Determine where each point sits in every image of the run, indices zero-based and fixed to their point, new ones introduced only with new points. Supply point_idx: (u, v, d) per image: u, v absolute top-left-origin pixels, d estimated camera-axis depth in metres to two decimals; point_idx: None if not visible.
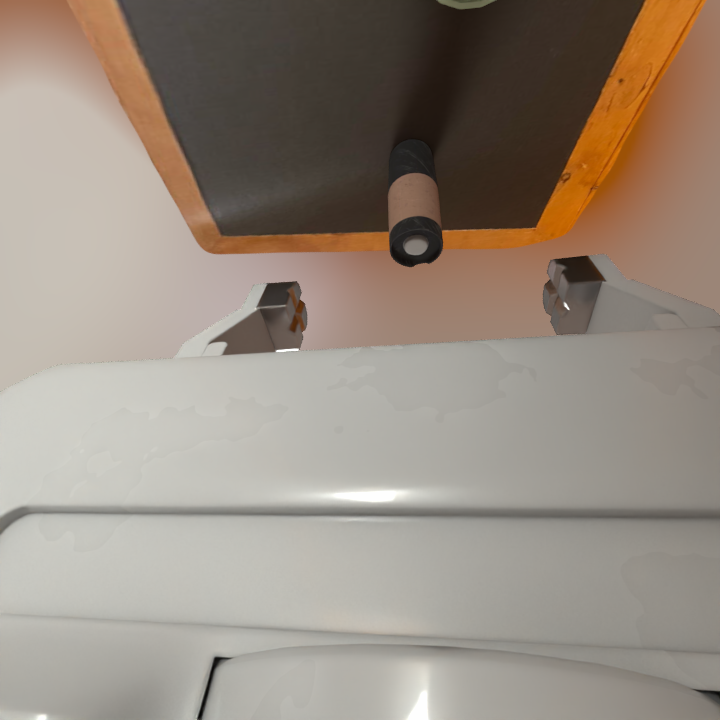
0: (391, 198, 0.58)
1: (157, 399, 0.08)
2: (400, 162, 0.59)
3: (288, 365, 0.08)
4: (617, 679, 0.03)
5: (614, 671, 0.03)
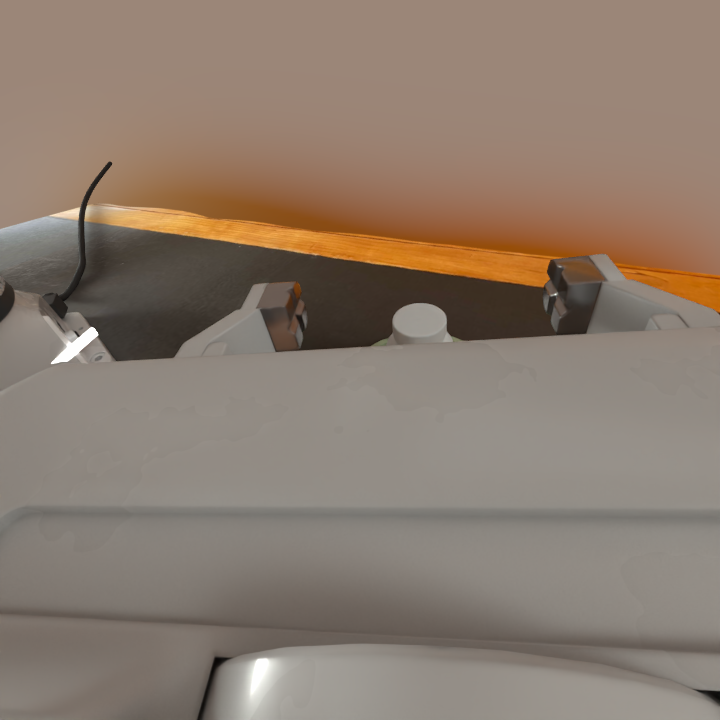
0: None
1: (157, 399, 0.08)
2: None
3: (288, 365, 0.08)
4: (617, 679, 0.03)
5: (614, 671, 0.03)
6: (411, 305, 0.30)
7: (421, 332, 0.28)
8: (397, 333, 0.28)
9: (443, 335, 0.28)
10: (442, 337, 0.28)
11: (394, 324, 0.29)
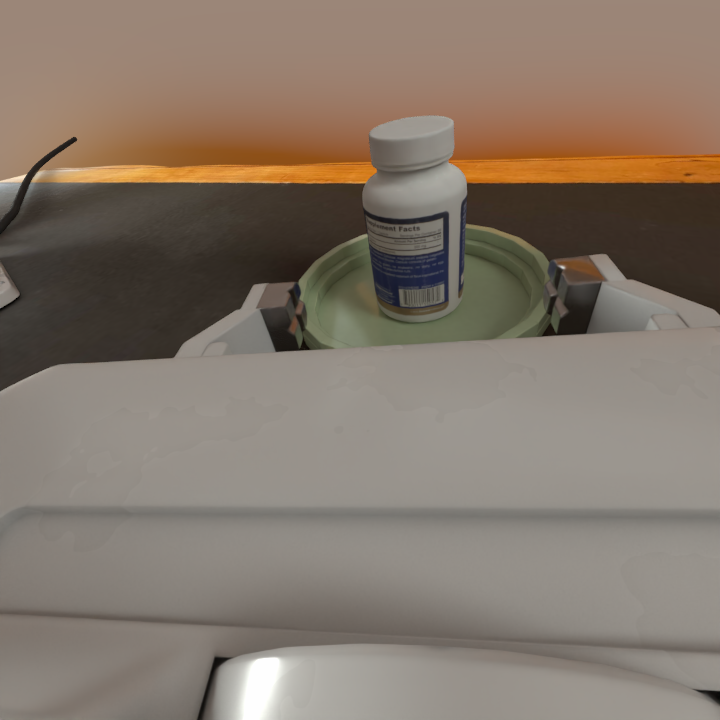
0: None
1: (157, 399, 0.08)
2: None
3: (288, 365, 0.08)
4: (617, 679, 0.03)
5: (614, 671, 0.03)
6: (398, 120, 0.20)
7: (414, 134, 0.17)
8: (376, 146, 0.18)
9: (449, 145, 0.18)
10: (448, 148, 0.18)
11: (371, 135, 0.18)
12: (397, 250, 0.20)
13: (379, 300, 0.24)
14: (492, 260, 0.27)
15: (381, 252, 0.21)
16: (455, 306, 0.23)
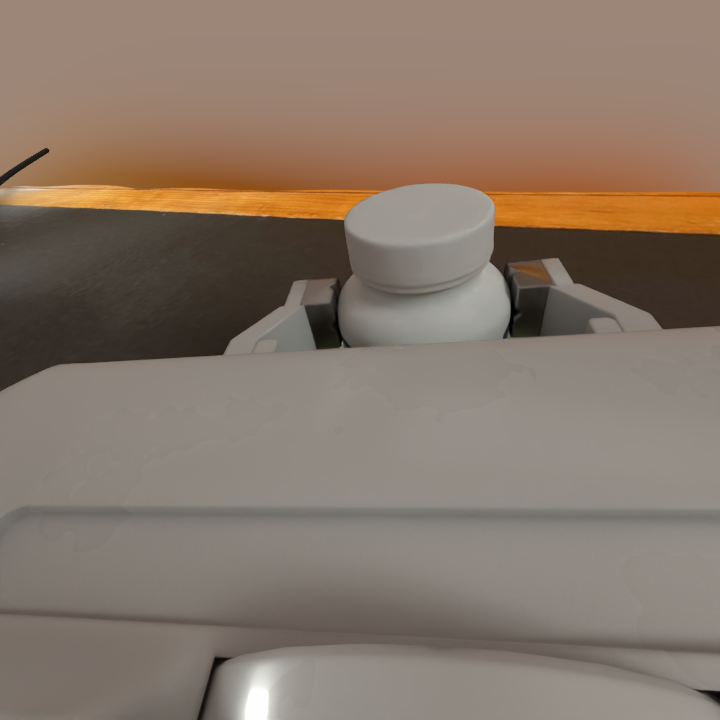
0: None
1: (157, 399, 0.08)
2: None
3: (288, 365, 0.08)
4: (617, 679, 0.03)
5: (614, 671, 0.03)
6: (396, 189, 0.12)
7: (424, 234, 0.09)
8: (356, 248, 0.10)
9: (488, 248, 0.10)
10: (485, 253, 0.10)
11: (348, 225, 0.10)
12: None
13: None
14: None
15: None
16: None
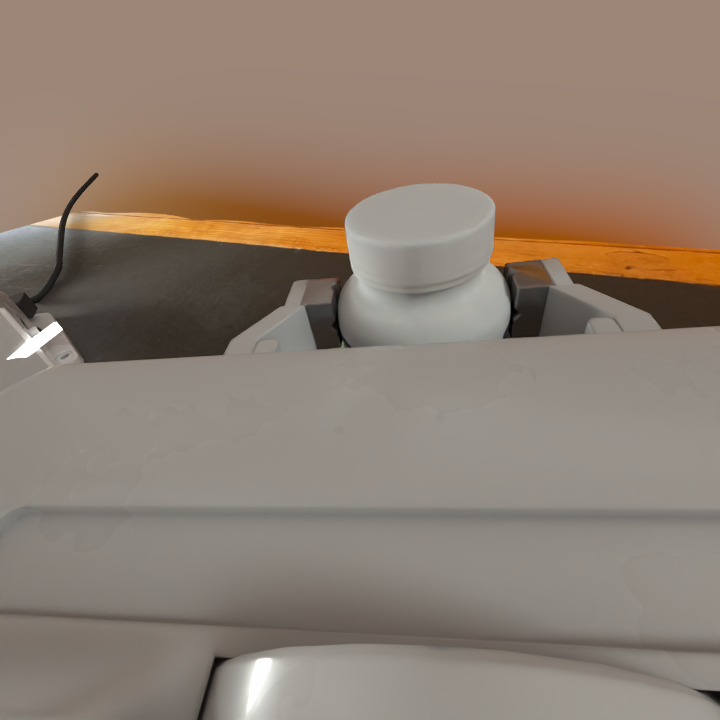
0: None
1: (157, 399, 0.08)
2: None
3: (288, 365, 0.08)
4: (617, 679, 0.03)
5: (614, 671, 0.03)
6: (396, 189, 0.12)
7: (425, 234, 0.09)
8: (356, 248, 0.10)
9: (488, 248, 0.10)
10: (486, 253, 0.10)
11: (349, 225, 0.10)
12: None
13: None
14: None
15: None
16: None
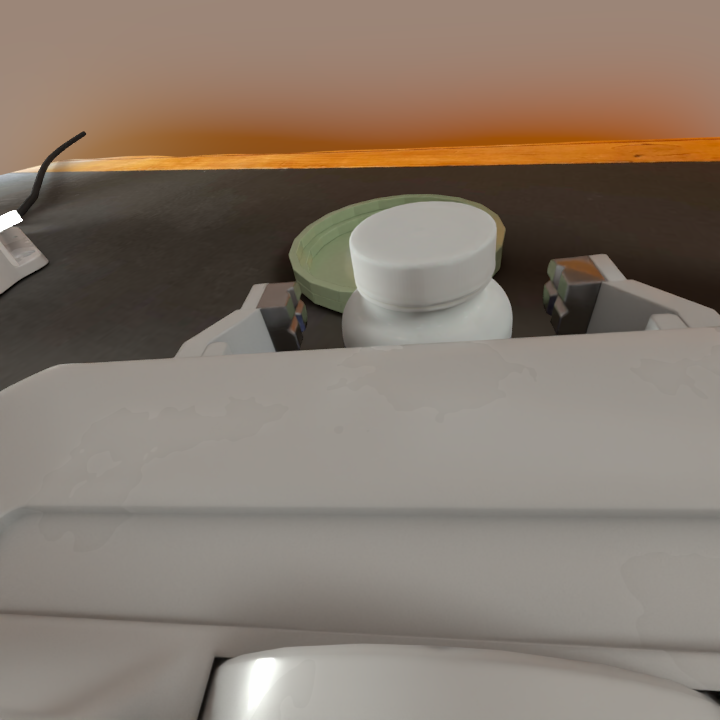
0: None
1: (157, 399, 0.08)
2: None
3: (288, 365, 0.08)
4: (617, 679, 0.03)
5: (614, 671, 0.03)
6: (399, 207, 0.12)
7: (428, 255, 0.09)
8: (361, 267, 0.10)
9: (490, 267, 0.10)
10: (488, 273, 0.10)
11: (353, 244, 0.11)
12: None
13: None
14: None
15: None
16: None
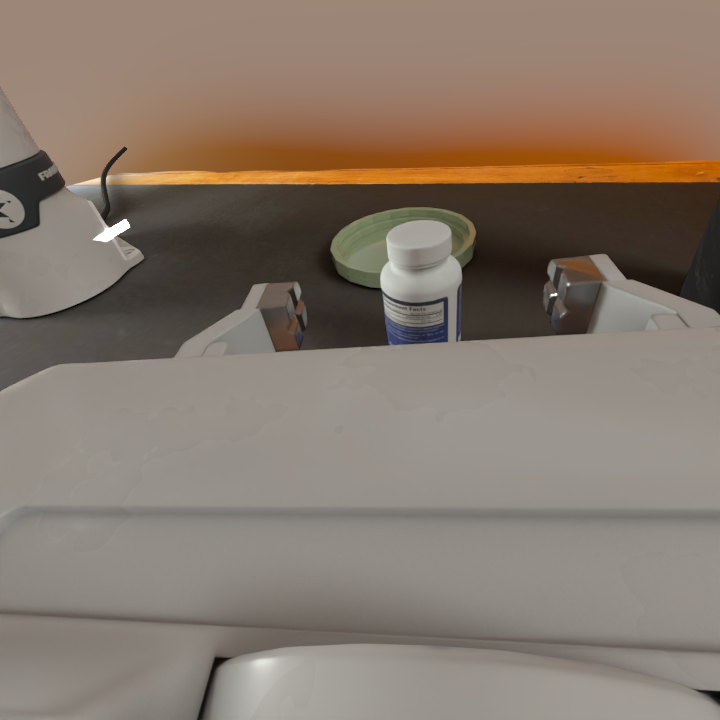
0: None
1: (157, 399, 0.08)
2: None
3: (288, 365, 0.08)
4: (617, 679, 0.03)
5: (614, 671, 0.03)
6: (408, 222, 0.25)
7: (421, 244, 0.23)
8: (392, 250, 0.24)
9: (448, 249, 0.24)
10: (447, 252, 0.24)
11: (388, 240, 0.24)
12: (408, 322, 0.26)
13: None
14: None
15: (395, 322, 0.26)
16: None
